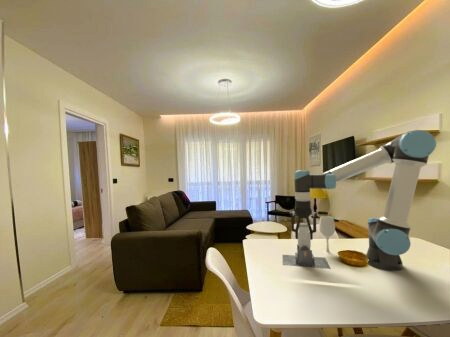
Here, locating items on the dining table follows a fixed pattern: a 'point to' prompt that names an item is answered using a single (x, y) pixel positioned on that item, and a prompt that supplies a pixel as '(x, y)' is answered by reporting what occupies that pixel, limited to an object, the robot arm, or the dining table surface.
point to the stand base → (305, 259)
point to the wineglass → (327, 228)
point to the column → (304, 235)
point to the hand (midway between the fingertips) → (304, 245)
